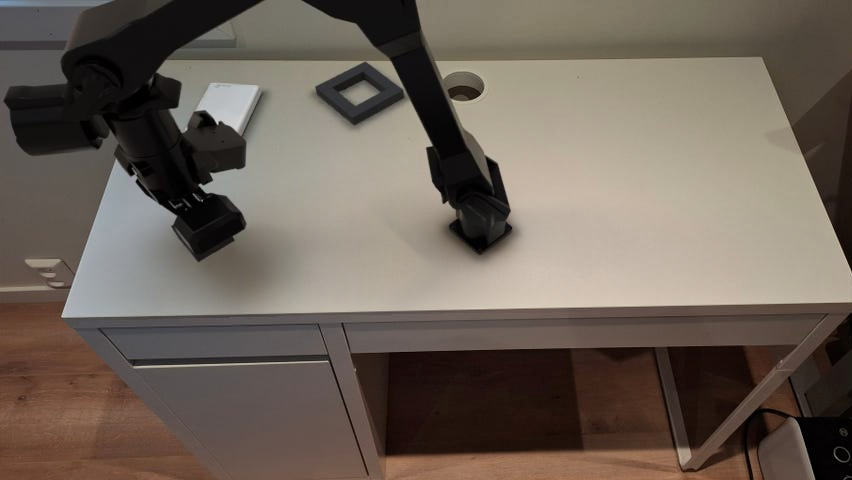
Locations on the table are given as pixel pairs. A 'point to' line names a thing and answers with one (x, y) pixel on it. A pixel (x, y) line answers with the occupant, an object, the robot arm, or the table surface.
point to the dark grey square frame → (367, 108)
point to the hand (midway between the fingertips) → (204, 234)
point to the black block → (202, 256)
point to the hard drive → (230, 104)
